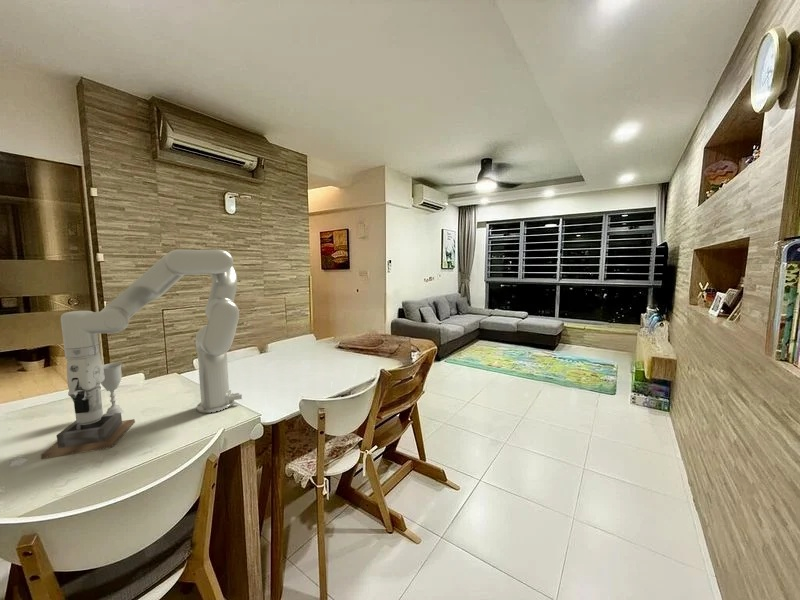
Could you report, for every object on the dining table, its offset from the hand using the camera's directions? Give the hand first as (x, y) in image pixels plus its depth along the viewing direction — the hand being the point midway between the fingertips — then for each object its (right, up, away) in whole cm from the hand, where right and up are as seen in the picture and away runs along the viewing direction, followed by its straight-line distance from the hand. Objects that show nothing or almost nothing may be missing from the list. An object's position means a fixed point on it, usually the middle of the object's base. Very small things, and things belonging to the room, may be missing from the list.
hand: (88, 407), depth 99 cm
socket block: (0, -10, +1) cm, 10 cm away
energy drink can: (0, -5, +1) cm, 5 cm away
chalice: (-8, -8, +18) cm, 22 cm away
